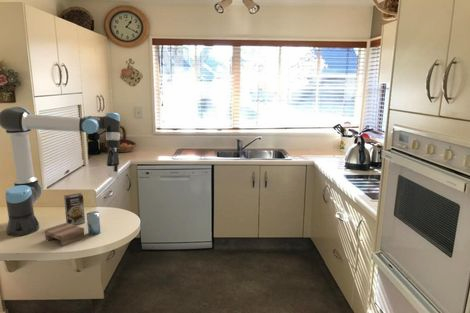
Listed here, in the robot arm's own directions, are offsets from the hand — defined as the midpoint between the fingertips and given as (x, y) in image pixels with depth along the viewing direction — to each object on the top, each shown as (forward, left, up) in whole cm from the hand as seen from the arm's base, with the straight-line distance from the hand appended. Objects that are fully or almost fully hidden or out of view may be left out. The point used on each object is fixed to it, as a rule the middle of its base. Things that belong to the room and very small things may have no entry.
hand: (112, 177), depth 202 cm
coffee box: (-14, -16, -25) cm, 33 cm away
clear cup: (+7, -20, -25) cm, 32 cm away
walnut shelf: (0, -32, -25) cm, 40 cm away
